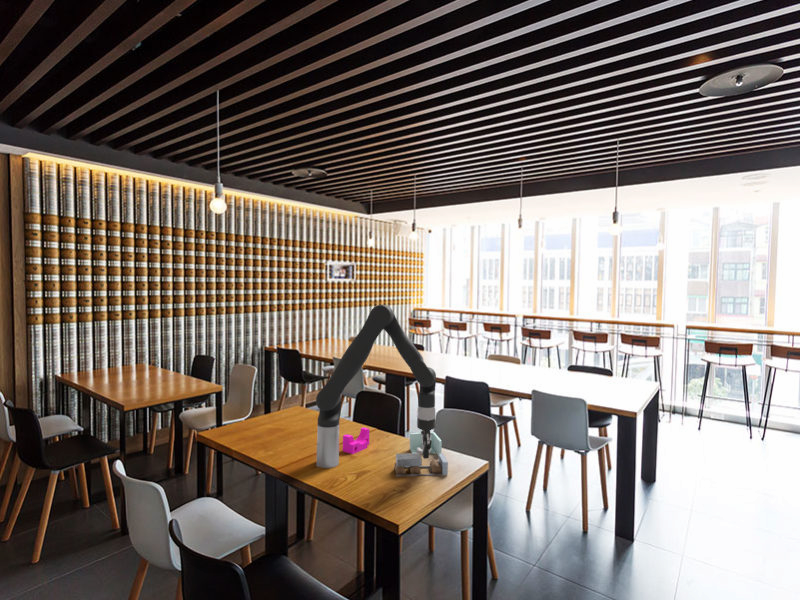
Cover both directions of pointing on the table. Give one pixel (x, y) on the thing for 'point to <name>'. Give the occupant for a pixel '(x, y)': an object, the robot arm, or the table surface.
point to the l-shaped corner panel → (417, 444)
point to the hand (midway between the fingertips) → (425, 457)
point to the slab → (408, 460)
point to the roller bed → (416, 471)
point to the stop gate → (443, 464)
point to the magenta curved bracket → (356, 441)
